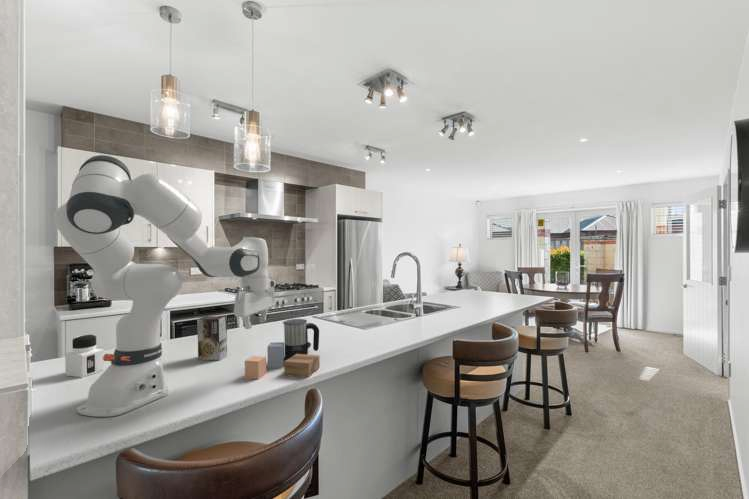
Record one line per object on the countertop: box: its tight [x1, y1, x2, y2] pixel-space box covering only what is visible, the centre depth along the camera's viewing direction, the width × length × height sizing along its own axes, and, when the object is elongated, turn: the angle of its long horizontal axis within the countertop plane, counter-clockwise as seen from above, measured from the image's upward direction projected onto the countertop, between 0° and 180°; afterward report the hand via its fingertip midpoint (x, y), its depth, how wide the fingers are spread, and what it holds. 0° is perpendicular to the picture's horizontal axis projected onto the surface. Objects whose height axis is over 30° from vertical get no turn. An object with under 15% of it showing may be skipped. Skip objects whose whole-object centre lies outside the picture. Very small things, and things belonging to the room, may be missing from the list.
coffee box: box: [196, 315, 228, 361], centre depth 145 cm, size 9×6×16 cm
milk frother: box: [282, 318, 320, 362], centre depth 148 cm, size 14×16×15 cm
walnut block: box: [284, 354, 321, 378], centre depth 129 cm, size 9×9×5 cm
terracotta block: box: [244, 355, 267, 380], centre depth 125 cm, size 5×5×6 cm
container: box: [64, 334, 105, 378], centre depth 128 cm, size 8×8×13 cm
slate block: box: [267, 341, 285, 369], centre depth 135 cm, size 5×5×8 cm
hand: (255, 325), depth 125 cm, fingers open, 8 cm apart
